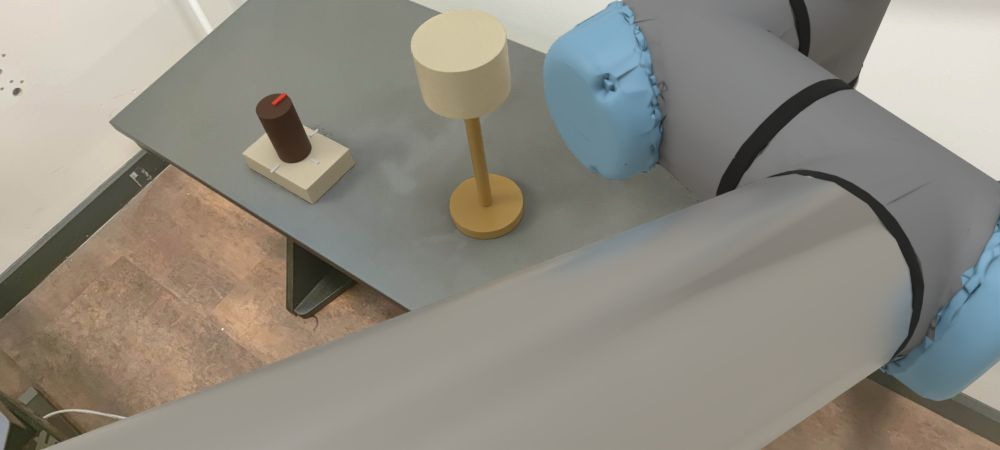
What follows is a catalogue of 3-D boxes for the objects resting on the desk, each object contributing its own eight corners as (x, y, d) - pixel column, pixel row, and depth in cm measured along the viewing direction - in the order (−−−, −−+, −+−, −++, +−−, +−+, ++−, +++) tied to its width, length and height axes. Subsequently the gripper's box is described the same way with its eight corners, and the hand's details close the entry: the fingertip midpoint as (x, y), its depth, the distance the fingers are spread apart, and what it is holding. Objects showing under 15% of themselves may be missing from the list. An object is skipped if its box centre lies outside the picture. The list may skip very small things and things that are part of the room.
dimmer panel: (311, 206, 89) (303, 190, 86) (248, 169, 94) (239, 153, 91) (356, 162, 93) (350, 146, 90) (294, 129, 97) (286, 113, 95)
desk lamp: (495, 251, 82) (467, 84, 61) (436, 219, 86) (390, 51, 65) (538, 199, 86) (525, 27, 65) (479, 171, 90) (449, -1, 69)
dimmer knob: (294, 168, 89) (271, 121, 82) (271, 155, 90) (246, 108, 84) (318, 146, 91) (298, 99, 84) (295, 133, 92) (273, 86, 86)
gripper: (759, 37, 49) (710, 233, 68) (672, 159, 43) (645, 335, 62) (870, 73, 46) (786, 267, 65) (792, 209, 40) (725, 378, 59)
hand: (717, 300), depth 63 cm, fingers closed
